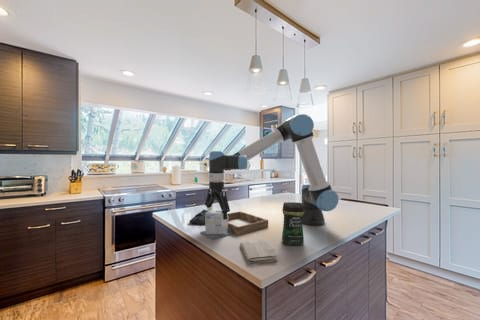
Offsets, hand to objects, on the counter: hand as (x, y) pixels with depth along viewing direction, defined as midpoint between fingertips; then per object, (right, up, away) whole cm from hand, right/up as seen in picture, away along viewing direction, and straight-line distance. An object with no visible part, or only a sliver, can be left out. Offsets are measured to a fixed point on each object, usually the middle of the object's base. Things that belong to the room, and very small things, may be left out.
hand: (216, 222), depth 112 cm
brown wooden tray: (+12, -6, +14) cm, 19 cm away
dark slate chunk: (-11, -6, +25) cm, 28 cm away
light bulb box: (0, -5, 0) cm, 5 cm away
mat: (0, -6, 0) cm, 6 cm away
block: (+2, -6, +17) cm, 18 cm away
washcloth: (+19, -7, -23) cm, 31 cm away
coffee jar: (+36, -6, -12) cm, 39 cm away
